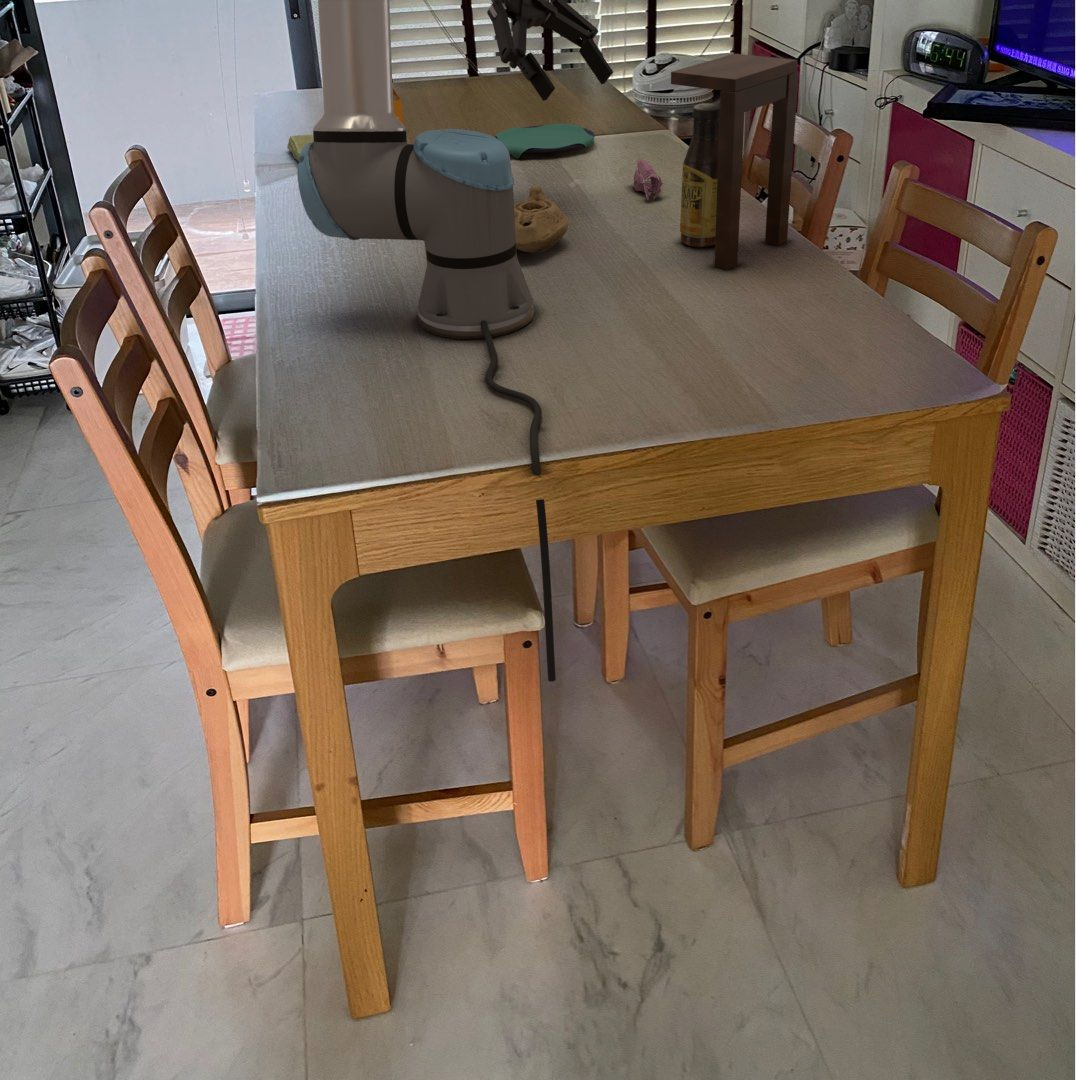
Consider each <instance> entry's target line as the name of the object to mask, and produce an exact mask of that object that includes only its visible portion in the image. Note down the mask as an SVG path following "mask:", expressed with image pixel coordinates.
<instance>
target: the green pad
mask: <svg viewBox="0 0 1076 1080" xmlns="http://www.w3.org/2000/svg"><path fill="white" fill-rule="evenodd" d="M494 137H495V138H496V139H498V140H500V141H501V142H502V143H503V144H504V145H505V146H506V147H507V149H508V151H509V154H510V156H513V158H515V159H517V160H518V159H520V157H521V155H522V154H523V153H551V152H560V151H567V150H572V149H575V148H579V147H583V148H584V149H585V148H588V147H590V146H592V145H593V144H594V143H595V140H596V139H595V138H596V135H595V133H594V132H593V131H592V130H589V129H588V128H585V127H583V126H582V125H578V124H571V123H550V124H545V125H544V124H542V125H532V126H531V125H530V126H524V127H511V128H507V129H505V130H503V131H501V132H498V133H496V134H495V135H494Z"/></svg>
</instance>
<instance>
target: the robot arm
mask: <svg viewBox="0 0 1076 1080" xmlns="http://www.w3.org/2000/svg"><path fill="white" fill-rule="evenodd" d="M490 1H491V4H490V6H489V8H488V9H487V10H486V11H487V12H486V14H487V15H488V18H489V19H490V21H491V23H492V26H493V31H494V35H495V40H496V44H497V49H498V53H499V57H500V61H501V62H502V64H505V65H506V64H508V65H509V67H510V69H513V70H515V69H516V68H517V67H518V69H519V70H520V72H521V73H522V75H523V76H524V78H525V79H526V80H527V81H528V82H530V84H531V85H532V86H533V88H534V90H535V91H536V93H537V94H538V96H539V97H540V98H541V100H542V101H543V102H544V101H547V100H548V99H549V97H550V96H551V95H552V93H554V90H555V89H556V87H555V85H554V83H553V82H552V81H551V79H550V77H549V76H548V75H547V73H546V72H545V69H543V68H542V66H541V64H540V62H539V61H538V60H537V58H536V57H535V55H534V54H533V53H532V52H528V53H527V36H528V35H527V31H528V29H531V28H532V27H533V28H538V27H541V28H543V29H550V30H551V31H553V32H555V33H556V34H558V35H560V36H561V37H562V38H564V39H566V40H568V42H571V43H573V44H574V45H576V46H578V47H579V50H578V52H579V54H580V56H581V57H582V58H583V60H584V61H585V63H586V65H587V66H588V67H589V68H590V69H589V70H591V71H592V73H593V74H594V76H595V77H596V79H597V81H598V83H600V85H605V84H606V82H607V81H608V80H609V79H610V77H611V76H612V75H613V73H614V70H613V69H612V68H611V66H610V65H609V63H608V61H607V60H606V59H605V57H604V53H602V51H601V50H600V48H599V47H598V45H597V44H596V42H595V41H594V39H595V37H596V36H597V35H598V33H599V30H598V28H597V27H596V26H595V25H593V23H591V22H590V21H589V20H587V19H586V18H585V17H584V16H583V15H581V13H579V12H578V11H577V10H575V8H573V7H572V6H571V4H569V3H568V2H566V1H565V0H490ZM317 8H318V9H317V10H318V27H319V44H320V46H319V47H320V60H321V80H322V94H323V95H322V98H323V114H322V117H321V118H320V119H319V120H318V122H317V123H316V124H315V125H314V126H313V127H312V135H313V138H314V142H310V143H309V144H307V145H305V146H304V147H303V149H302V150H301V152H300V155H299V161H300V162H299V161H298V164H297V167H296V169H297V170H296V171H297V172H296V173H297V174H296V175H297V183H298V185H297V186H298V190H299V195H300V200H301V203H302V206H303V208H304V211H305V213H306V215H307V217H308V219H309V220H310V221H311V223H312V225H313V226H314V228H315V229H317V231H318V232H320V233H321V234H323V235H324V236H327V237H329V238H330V237H331V238H339V239H348V240H351V241H358V240H361V239H362V240H397V241H398V240H399V241H422V242H424V247H425V248H424V249H425V257H426V267H425V272H424V275H423V279H422V280H423V281H422V285H421V289H420V294H419V299H418V303H417V318H418V323H419V326H420V327H421V328H422V329H423V330H425V331H426V332H429V333H430V334H433V335H435V336H440V337H443V338H450V339H451V338H452V339H461V340H462V339H465V340H468V339H471V340H473V339H483V338H484V342H485V344H486V347H487V350H488V353H489V357H490V364H489V365H488V368H487V370H486V372H485V374H484V379H485V380H484V382H485V383H486V385H487V386H488V387H489V388H490V389H491V391H493V392H496V393H497V394H499V395H503V396H506V397H509V398H513V399H515V400H519V401H521V402H523V403H525V404H527V405H529V406H530V407H531V408H532V410H533V416H532V417H533V418H532V420H531V424H530V428H529V448H530V458H531V468H532V470H531V471H532V475H533V476H540V475H541V474H542V470H541V468H542V467H541V460H540V459H541V458H540V449H539V432H538V431H539V427H540V424H541V420H542V415H543V412H542V410H543V409H542V407H541V405H540V404H539V402H538V401H537V400H536V399H535V398H533V396H530V395H528V394H526V393H524V392H520V391H517V390H515V389H512V388H511V389H510V388H508V387H504V386H502V385H500V384H498V383H497V382H495V381H494V379H493V376H494V374H495V372H496V370H497V367H498V362H499V361H498V359H499V358H498V352H497V349H496V347H495V343H494V341H493V338H492V337H497V336H501V335H506V334H509V333H512V332H514V331H517V330H519V329H521V328H523V327H525V326H526V325H528V324H529V323H530V322H531V321H532V320H533V318H534V316H535V309H534V307H535V306H534V299H533V295H532V293H531V290H530V288H529V285H528V283H527V280H526V277H525V275H524V273H523V270H522V267H521V265H520V261H519V260H518V254H517V249H516V233H515V214H514V204H515V199H514V185H515V180H514V176H513V173H512V172H513V171H512V162H511V154H510V153H509V151H508V149H507V147H506V146H505V145H504V144H503V143H502V142H501V141H500V140H498V139H496V138H495V137H496V136H493V135H490V134H487V133H484V132H480V131H477V130H469V129H461V128H446V129H437V128H435V129H430V130H429V129H428V130H424V131H422V132H421V133H419V134H417V136H416V137H415V140H414V142H413V143H408V142H407V141H408V139H407V127H406V126H405V124H404V125H403V124H402V123H401V122H400V121H399V120H398V119H397V118H396V117H395V115H394V111H393V89H394V85H393V61H392V35H391V33H392V32H391V9H390V0H317ZM547 14H548V15H547ZM509 19H510V20H509ZM510 22H511V23H510ZM535 503H536V514H537V527H538V536H539V537H538V538H539V548H540V549H539V550H540V562H541V577H542V578H541V579H542V594H543V595H542V596H543V608H544V609H543V613H544V614H543V615H544V631H545V633H544V634H545V649H546V650H545V651H546V667H547V680H548V682H551V683H552V682H555V681H556V679H557V678H556V661H555V660H556V659H555V658H556V657H555V640H554V639H555V638H554V619H553V618H554V617H553V601H552V600H553V599H552V580H551V565H550V564H551V563H550V551H549V549H550V548H549V537H548V526H547V513H546V505H545V504H546V503H545V498H541V499H535Z"/></svg>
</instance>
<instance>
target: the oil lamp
mask: <svg viewBox="0 0 1076 1080" xmlns="http://www.w3.org/2000/svg"><path fill="white" fill-rule="evenodd" d="M528 192H529V194H528V195H529V197H528V199H526V200H522V201H519V202H516V203H514V214H515V233H516V250H518V251H521V252H524V253H540V252H544V251H547V250H549V249H550V248H552V247H554V245H555V244H557V242H559V241H560V239H562V238H563V237H564V236H565V235H566V233H567V231H568V228H569V220H568V219H569V218H568V216H567V215H565V213H564V212H563V211H562V210H561V209H560V208H559V207H558V205H556V204H555V203H554V202H553V201H551V200H548V199H547V198H546V194H545V192H544V191H543V189H542V186H541V185H534V186H531V187H530V188H529V191H528Z"/></svg>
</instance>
